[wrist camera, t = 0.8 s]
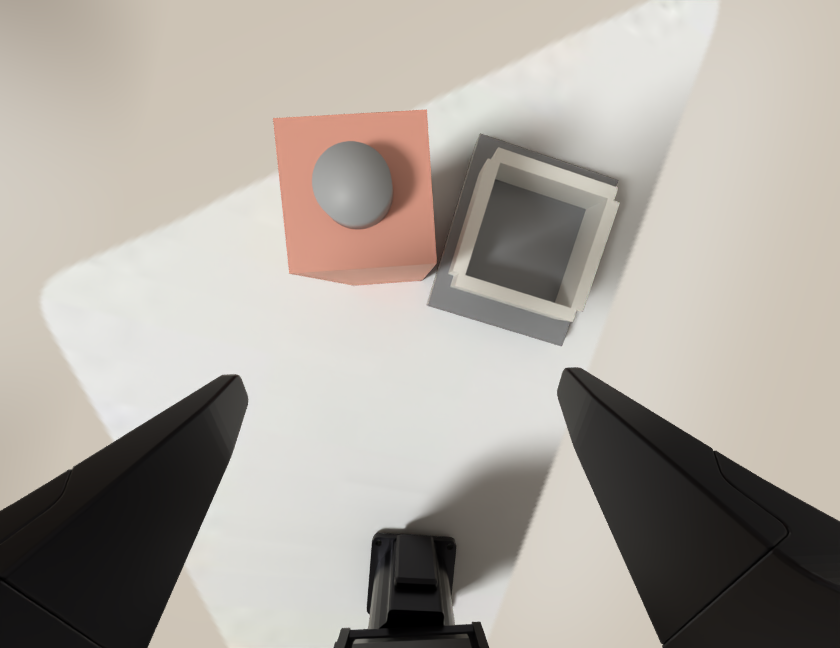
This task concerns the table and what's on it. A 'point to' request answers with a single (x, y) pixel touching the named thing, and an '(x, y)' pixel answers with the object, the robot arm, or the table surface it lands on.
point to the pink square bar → (357, 196)
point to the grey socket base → (524, 241)
